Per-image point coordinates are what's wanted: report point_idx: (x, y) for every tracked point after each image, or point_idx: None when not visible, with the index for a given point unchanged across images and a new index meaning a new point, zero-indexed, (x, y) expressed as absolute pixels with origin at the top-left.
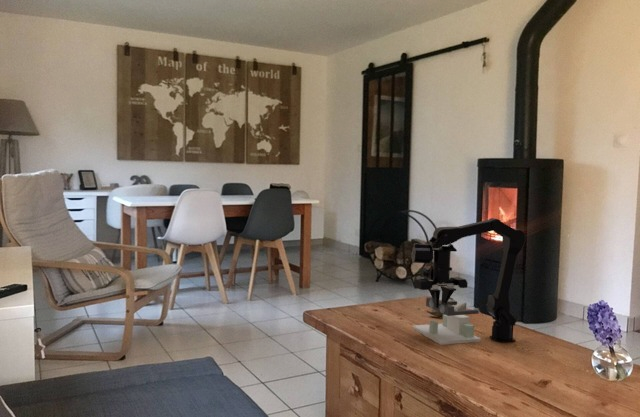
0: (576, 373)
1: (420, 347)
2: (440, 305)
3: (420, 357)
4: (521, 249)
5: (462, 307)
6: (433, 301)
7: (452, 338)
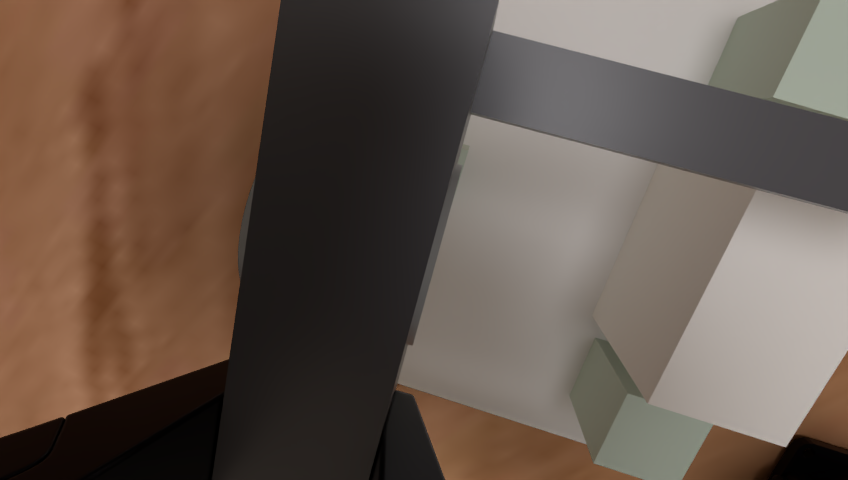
0: None
1: (166, 309)
2: None
3: None
4: None
5: None
6: (150, 401)
7: (454, 352)
